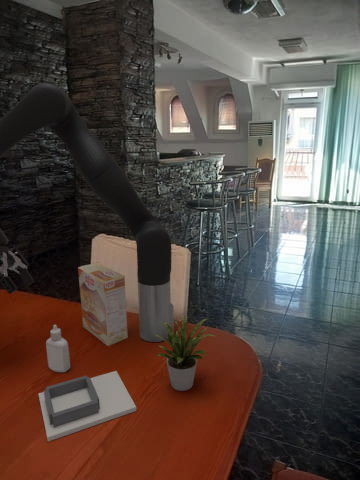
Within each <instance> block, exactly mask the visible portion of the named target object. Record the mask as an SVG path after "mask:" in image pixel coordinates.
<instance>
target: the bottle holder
mask: <svg viewBox="0 0 360 480" xmlns="http://www.w3.org/2000/svg"><path fill="white" fill-rule="evenodd" d="M38 399H39V404H40V411H41V414H42V419H43V424H44V430H45V434H46V440H47V442H51V441H54V440H56V439H60V438H62V437H66V436H69V435H71V434H74V433H78V432H79V431H83V430H85V429H88V428H91V427H94V426H98V425H100V424H102V423H105V422H108V421H111V420H114V419H117V418H119V417H123V416H125V415H129V414H131V413H134V412H136V411H137V406H136V404H135V402H134V400H133V398H132V397H131V395H130V393H129V392H128V390H127V388H126V386H125V384H124V382H123V381H122V379H121V376H120V375H119V373H118V371H117V370H115V371H111V372H107V373H103V374H99V375H96V376H93V377H88V375H83V376H80V377H76V378H74V379H73V378H72V379H69V380H66V381H63V382H58V383H55V384H52V385H49V386H45V389H44V390H43V392H38Z"/></svg>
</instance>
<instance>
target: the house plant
mask: <svg viewBox="0 0 360 480" xmlns="http://www.w3.org/2000/svg"><path fill="white" fill-rule="evenodd" d="M173 320H174V323H175V325H176V327H177V329H178V330H176V332H175V331H173V329H172V328H171V324H170V326H169V325H168V324H167V323H166V322H165V321H163V320H162V321H163V322H164V324H165V326H166V328H167V330H168V338H167V339H164V338H163V337H161V336H159V335H156V334H155V336H158V337H160V338H162V339H163V341H165V342H166V343H167V344H168V345H169V346H170V347H171V349H172V350H170V349H168V348H167V347H165V346H163V345H158V344H157V346H158V347H159V348H161V350H163V351H164V352H161V353H159V354H157V355H156V357H162V358H166V367H167V370H168V376H169V380H170V385H171V387H172V388H173V389H174V390H176V391H181V392H182V391H184V392H185V391H188V390H190V389H191V388H192V387H193V385H194V380H195V375H196V369H197V364H198V359H199V360H204V358H203V357H202V355H203V356H205V357H207V354H206V351H205V350H204V349H202V348H201V349H197V350H195V351H194V349H195V348H196V346H197V345H198V343H200V341H201V340H202V339H203V338H206V337H216V335H215V334H210V333H209V334H204V332H205V331H207V330H208V329H209V327H206V328H204V329H202V330H200V332H199V333H198V334H197V335H196V337H194V335H195V334H196V333H197V330H198V329H199V328H200V326H202V324H203V323H204V322H205V321H207V320H209V317H208V318H204V319H201V320H199V322H197V324H195V325H194V327H193V328H192V329H191V331H190V333H189V335H188V325H187V324H188V323H187V321H186V317H185V315H184V314H183V313H182V315H181V326H182V327H181V326H180V324H179V322H177V321H176V320H175V319H173ZM202 334H203V335H202ZM165 352H166V353H165Z"/></svg>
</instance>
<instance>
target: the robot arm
mask: <svg viewBox="0 0 360 480" xmlns="http://www.w3.org/2000/svg"><path fill="white" fill-rule="evenodd" d="M45 127H49V128H50V129H51V131H52V132H54V134H55V135H56V136H57V137H58V138H59V139H60V141H61V142H62V143H63V144H64V146H65V148H66V149H67V151H68V152H69V154H70V156H71V158H72V161H73V162H74V164H75V166H76V167H77V168H76V169H77V170H78V171H79V173H80V174H81V177H82V178H83V180H84V181H85V182H86V183H87V185H88V187H90V189H91V190H92V192H93V193H94V194H95V195H96V196H97V197H98V199H100V200H101V202H103V204H105V205H106V206H107V207H108V208H109V209H111V211H112V212H114V213H115V214H116V215H117V216H118V217H119V218H120V219H121V220H122V221H123V223H124V224H125V226H126V227H127V228H128V230H129V232H130V233H131V235H132V237H133V238H134V241H135V245H136V261H137V262H136V263H137V268H136V269H137V272H136V278H137V296H138V297H137V299H138V322H139V323H138V325H139V326H138V327H139V337H140V338H141V339H142V340H143V341H146V342H151V343H157V342H162V341H163V342H164V340H163V339H162V338H160V337H158V336H155V334H156V335H159V336H161V337H163V338H164V339H166V340H168V339H167V338H168V330H167V328H166V326H165V324H164V322H163V321H165V322H166V323H167V324H168V325H169V326H170V324H171V328H172V329H173V331H174V330H175V328H174V326H175V325H174V323H175V321H174V320H175V319H174V317H175V316H174V314H175V313H174V310H175V309H174V304H173V303H172V302H171V299H172V298H171V295H172V294H171V272H172V240H171V236H170V234H169V232H168V230H167V229H166V227H165V226H164V225H163V224H162V223H161V222H160V221H159V220H158V219H157V218H156V217H155V216H154V215H153V213H152V212H151V211H150V210H149V209H148V208H147V206H146V205H145V204H144V203H143V202H142V200H141V199H140V197H139V194H138V193H137V191H136V189H135V187H134V186H133V184H132V183H131V180H130V179H129V178H128V176H127V175H126V173H125V171H123V169H122V168H121V166H120V164H118V161H116V160H115V159H114V157H113V156H112V154H110V153H109V151H108V150H107V149H106V148H105V146H104V145H103V144H102V143H101V142H100V140H98V139H97V137H96V136H95V135H94V134H93V133H92V131H90V129H89V128H88V126H87V124H86V123H85V122H84V120H83V119H82V117H81V116H80V114H79V112H78V110H77V108H76V107H75V105H74V103H73V102H72V100H71V98H70V96H69V94H67V92H66V91H65V90H63V89H62V88H61V87H59V86H58V85H55V84H53V83H48V82H45V83H42V82H41V83H39V84H36V85H34V86H33V87H32V88H31V89H30V90H29V91H28V92H27V93H26V94H25V95H24V96H23V97H22V98H21V99H20V100H19V102H17V103H16V104H15V105H14V106H13V107H12V108H11V109H10V110H9V111H8V112H7V113H6V114H4V115H3V116H2V117H1V118H0V159H1V158H2V157H4V156H5V155H6V154H7V153H8V152H9V151H10V150H11V149H13V148H14V146H16V145H17V144H18V143H20V141H22V140H23V139H26V137H27V136H29V135H31V134H33V133H36V132H37V131H39V130H41V129H43V128H45ZM8 243H9V238H8V237H7V235H6V234H5V232H4V231H3V230H2V229H1V228H0V284H1V286H2V287H3V288H4V289H5V291H6V292H7V294H9V295H11V294H13V293H14V292H16V291H17V290H18V287H17V286H16V284H15V283H14V282H13V280H12V279H11V277H10V276H8V270H10V271H14V272H15V273H17V274H18V276H19V277H20V278H21V279H22V281H23V282H24V284H25V286H30V285H31V284H34V282H35V279H34V278H33V277H32V275H31V273H30V272H29V270H28V267H29V266H30V263H29V262H28V260H27V259H26V258H25V257H24V255H23V254H22V253H21V251H20V250H19V249H18V248H17V246H15V247H13V248H12V249H10V248H9V247H8V246H7V245H8ZM173 319H174V320H173ZM162 320H163V321H162ZM174 332H175V331H174Z"/></svg>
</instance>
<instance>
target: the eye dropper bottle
mask: <svg viewBox="0 0 360 480" xmlns="http://www.w3.org/2000/svg"><path fill="white" fill-rule="evenodd" d="M49 333H50V337H49V338H48V339H46V342H45V347H46V357H47V366H48V368H49V369H50V370H51V371H53V372H55V373H67V371H68V370H70V369H71V359H70V349H69V342H68V341H67V340H66V339H65V338H64V337H62V330H61V328H59V327H58V325H57V324H53V327H52V329H51V330H50V332H49Z"/></svg>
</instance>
